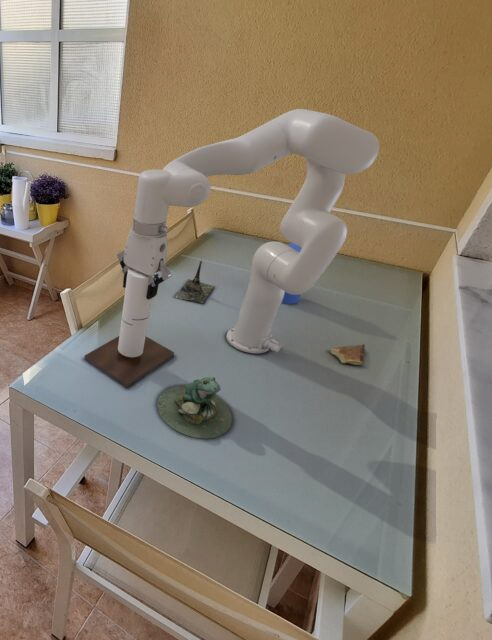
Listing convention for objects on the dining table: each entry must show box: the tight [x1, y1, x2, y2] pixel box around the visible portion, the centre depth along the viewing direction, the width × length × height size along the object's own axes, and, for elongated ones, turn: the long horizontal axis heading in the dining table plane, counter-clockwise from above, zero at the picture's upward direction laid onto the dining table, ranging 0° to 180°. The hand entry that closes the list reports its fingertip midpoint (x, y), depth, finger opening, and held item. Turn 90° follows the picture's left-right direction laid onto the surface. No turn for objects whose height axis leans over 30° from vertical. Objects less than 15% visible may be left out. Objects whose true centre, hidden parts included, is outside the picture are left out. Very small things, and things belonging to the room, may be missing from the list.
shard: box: [330, 344, 366, 366], centre depth 121 cm, size 11×8×2 cm
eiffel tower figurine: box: [174, 258, 215, 304], centre depth 149 cm, size 15×10×13 cm
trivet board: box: [84, 335, 175, 389], centre depth 122 cm, size 16×21×2 cm
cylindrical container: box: [118, 267, 156, 357], centre depth 113 cm, size 7×7×25 cm
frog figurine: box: [157, 375, 233, 440], centre depth 101 cm, size 18×18×12 cm
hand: (139, 291), depth 109 cm, fingers closed on cylindrical container, 7 cm apart
